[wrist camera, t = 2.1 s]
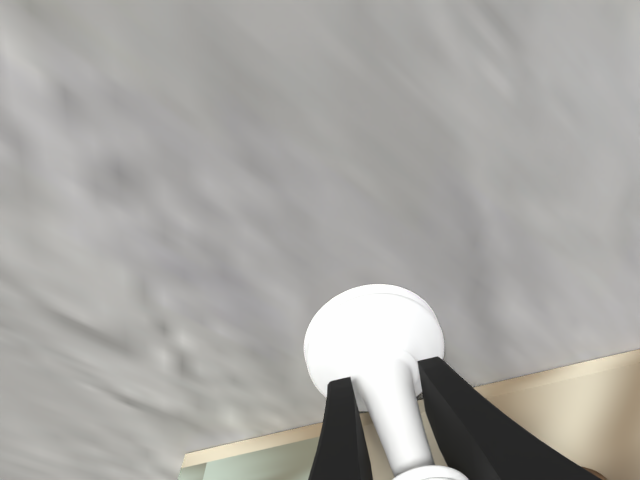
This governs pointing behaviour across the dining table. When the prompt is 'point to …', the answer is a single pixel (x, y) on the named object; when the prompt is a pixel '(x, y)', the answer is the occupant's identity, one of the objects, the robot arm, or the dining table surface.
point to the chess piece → (381, 367)
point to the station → (508, 396)
